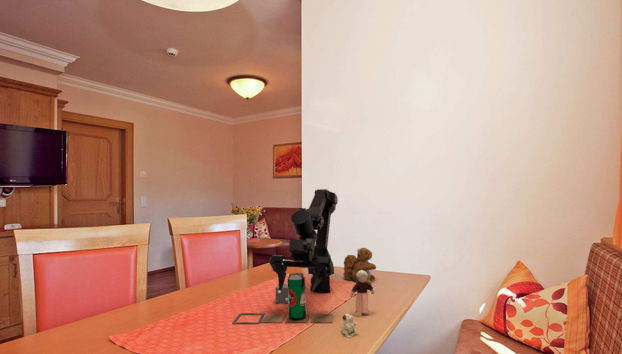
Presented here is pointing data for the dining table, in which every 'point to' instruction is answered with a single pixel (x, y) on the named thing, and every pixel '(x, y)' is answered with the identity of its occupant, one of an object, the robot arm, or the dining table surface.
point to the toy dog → (348, 326)
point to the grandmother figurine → (362, 293)
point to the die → (282, 294)
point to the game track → (279, 318)
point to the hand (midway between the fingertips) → (295, 290)
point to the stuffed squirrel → (358, 265)
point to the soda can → (296, 296)
